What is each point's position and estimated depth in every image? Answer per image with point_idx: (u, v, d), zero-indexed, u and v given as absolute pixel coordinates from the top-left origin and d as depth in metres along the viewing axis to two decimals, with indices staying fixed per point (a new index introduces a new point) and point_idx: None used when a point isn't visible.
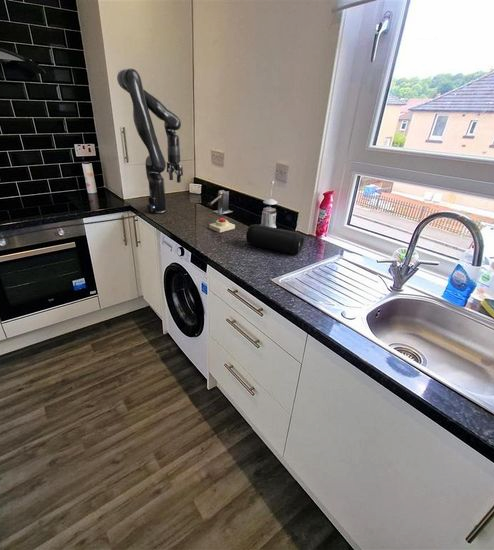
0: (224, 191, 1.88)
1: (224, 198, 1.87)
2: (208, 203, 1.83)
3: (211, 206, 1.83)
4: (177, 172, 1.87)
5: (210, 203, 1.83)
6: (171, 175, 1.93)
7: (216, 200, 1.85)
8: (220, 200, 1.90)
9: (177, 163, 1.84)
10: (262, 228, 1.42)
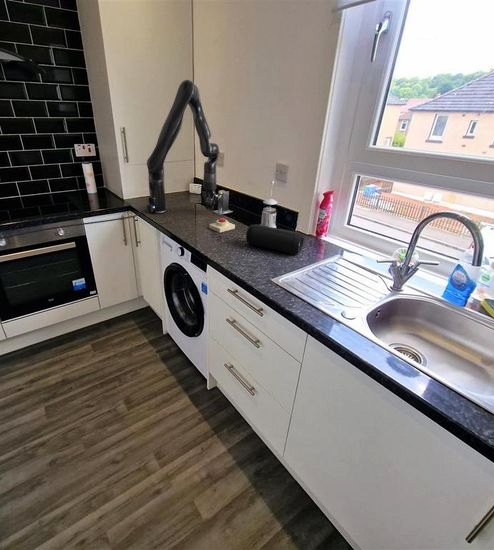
0: (224, 191, 1.88)
1: (224, 198, 1.87)
2: (208, 203, 1.83)
3: None
4: None
5: None
6: None
7: None
8: (220, 200, 1.90)
9: (213, 190, 1.77)
10: (262, 228, 1.42)
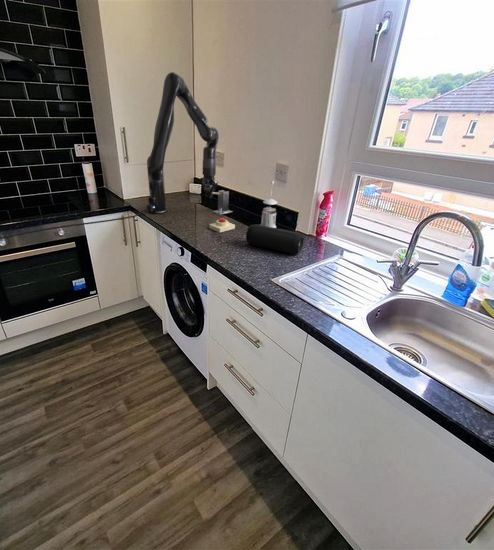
0: None
1: (224, 198, 1.87)
2: None
3: None
4: (210, 187, 1.77)
5: None
6: None
7: (215, 193, 1.83)
8: (220, 200, 1.90)
9: (212, 176, 1.73)
10: (262, 228, 1.42)
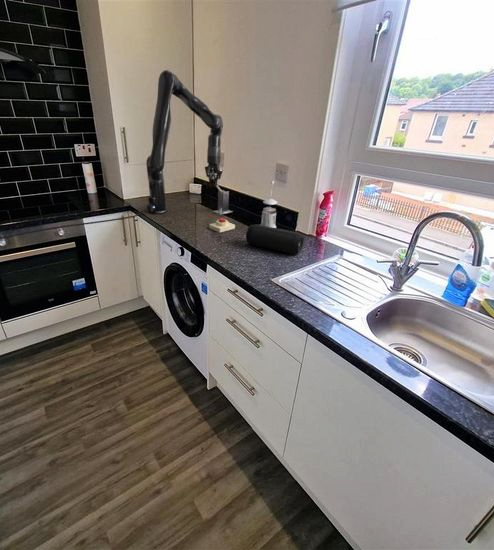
0: None
1: (224, 198, 1.87)
2: None
3: None
4: (215, 175, 1.76)
5: None
6: None
7: (218, 187, 1.83)
8: (220, 200, 1.90)
9: (217, 165, 1.72)
10: (262, 228, 1.42)
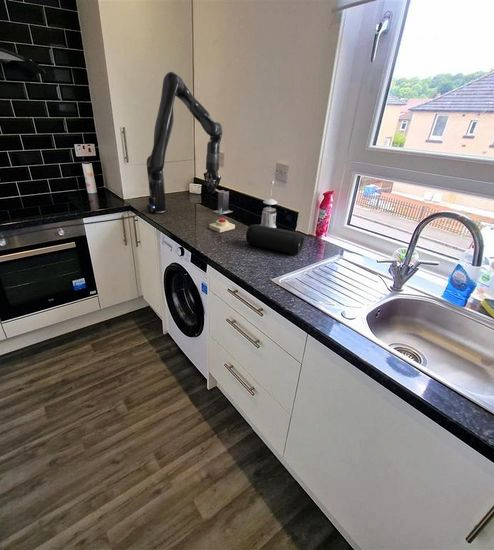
0: None
1: (224, 198, 1.87)
2: None
3: (211, 188, 1.78)
4: (213, 182, 1.77)
5: None
6: None
7: (216, 190, 1.83)
8: (220, 200, 1.90)
9: (216, 171, 1.73)
10: (262, 228, 1.42)
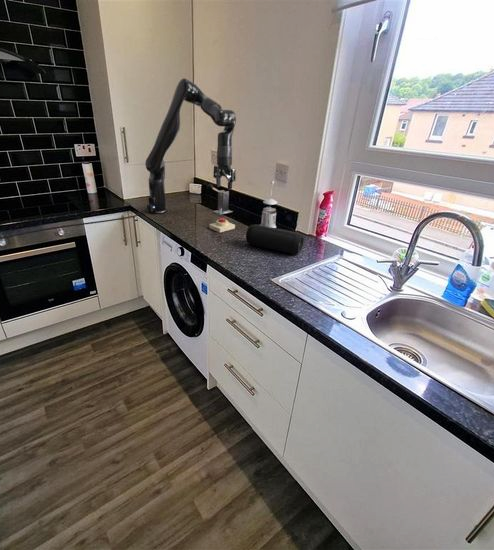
0: None
1: (224, 198, 1.87)
2: (210, 184, 1.78)
3: (211, 188, 1.78)
4: (228, 177, 1.55)
5: (212, 185, 1.79)
6: (219, 181, 1.62)
7: (216, 190, 1.83)
8: (220, 200, 1.90)
9: (229, 166, 1.53)
10: (262, 228, 1.42)
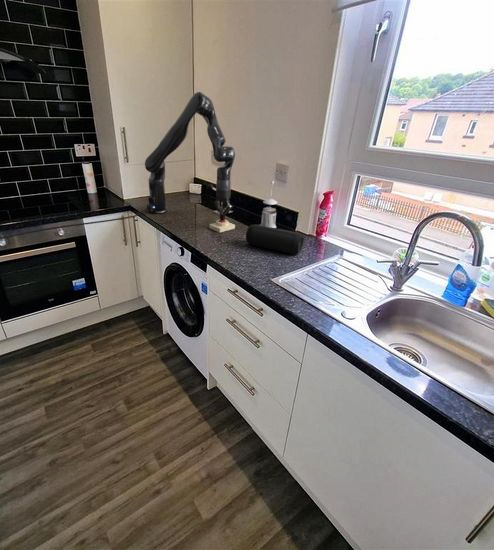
0: None
1: None
2: (210, 184, 1.78)
3: (211, 188, 1.78)
4: (223, 209, 1.63)
5: (212, 185, 1.79)
6: None
7: None
8: None
9: (227, 199, 1.58)
10: (262, 228, 1.42)
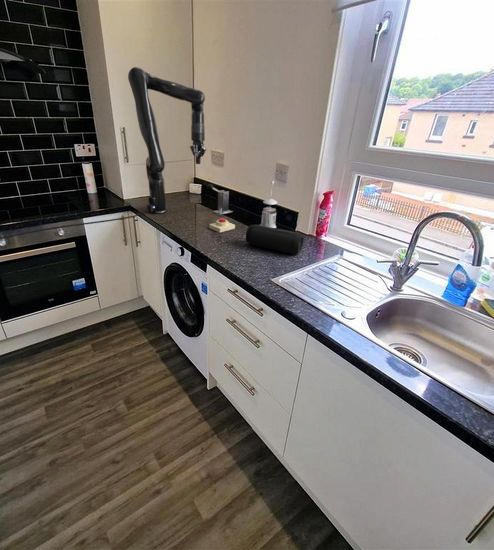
0: None
1: (224, 198, 1.87)
2: (210, 184, 1.78)
3: (211, 188, 1.78)
4: None
5: (212, 185, 1.79)
6: None
7: (216, 190, 1.83)
8: (220, 200, 1.90)
9: (201, 142, 1.72)
10: (262, 228, 1.42)
